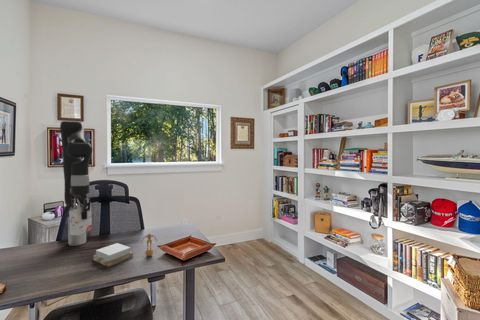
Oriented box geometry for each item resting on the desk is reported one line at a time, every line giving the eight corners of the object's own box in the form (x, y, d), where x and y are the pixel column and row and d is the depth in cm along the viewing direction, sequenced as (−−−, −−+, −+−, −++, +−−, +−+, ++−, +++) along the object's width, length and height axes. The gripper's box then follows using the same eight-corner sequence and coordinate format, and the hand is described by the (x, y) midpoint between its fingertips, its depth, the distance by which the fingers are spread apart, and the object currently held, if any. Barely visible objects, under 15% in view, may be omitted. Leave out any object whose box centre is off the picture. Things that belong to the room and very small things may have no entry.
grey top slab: (95, 255, 132) (95, 250, 131) (117, 248, 142) (117, 242, 142) (109, 261, 125) (109, 255, 125) (130, 252, 136) (130, 247, 136)
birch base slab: (93, 261, 132) (93, 255, 132) (117, 252, 144) (117, 246, 143) (108, 268, 124) (108, 262, 124) (133, 257, 136) (133, 252, 136)
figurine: (140, 258, 134) (140, 236, 133) (141, 253, 140) (141, 232, 139) (157, 256, 137) (157, 235, 136) (157, 252, 142) (157, 231, 142)
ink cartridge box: (83, 229, 126) (83, 200, 125) (92, 230, 125) (91, 201, 124) (69, 235, 118) (68, 204, 117) (78, 235, 117) (77, 205, 116)
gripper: (64, 183, 121) (65, 217, 121) (79, 186, 113) (80, 222, 114) (80, 181, 127) (81, 214, 128) (96, 184, 119) (96, 218, 120)
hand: (80, 218), depth 121 cm, fingers closed on ink cartridge box, 6 cm apart
